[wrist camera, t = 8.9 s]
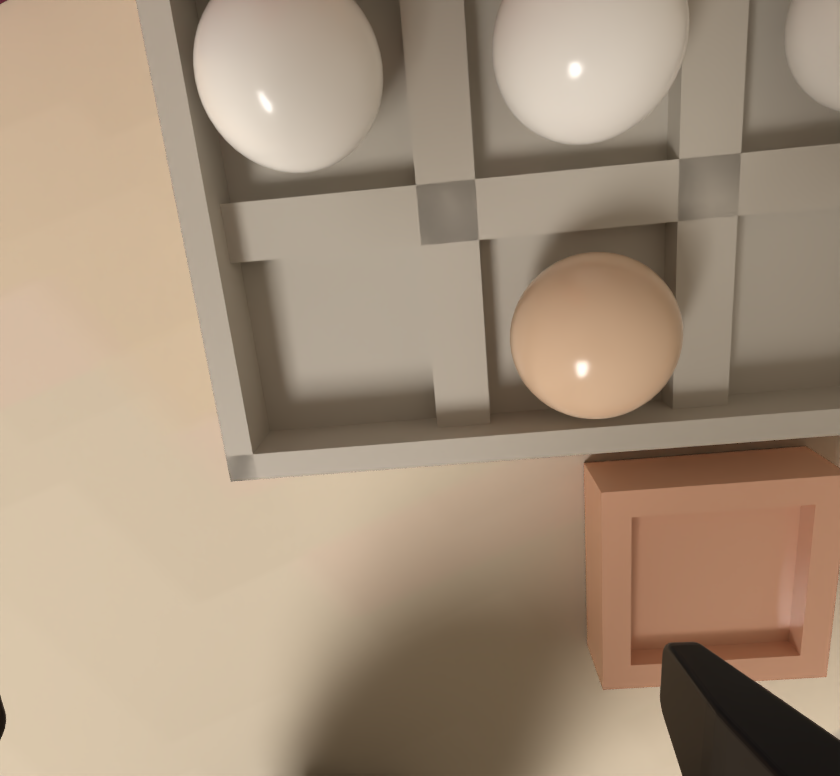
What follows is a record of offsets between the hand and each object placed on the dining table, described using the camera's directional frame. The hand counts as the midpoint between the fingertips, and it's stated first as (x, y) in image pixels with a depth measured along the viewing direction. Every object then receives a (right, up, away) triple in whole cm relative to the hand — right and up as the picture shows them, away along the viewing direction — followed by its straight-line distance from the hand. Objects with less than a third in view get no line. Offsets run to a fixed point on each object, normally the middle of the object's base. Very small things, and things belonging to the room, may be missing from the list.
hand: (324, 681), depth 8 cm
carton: (+6, +9, +10) cm, 15 cm away
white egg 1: (-2, +12, +9) cm, 15 cm away
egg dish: (+11, -2, +13) cm, 17 cm away
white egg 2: (+5, +13, +8) cm, 16 cm away
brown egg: (+6, +6, +10) cm, 13 cm away
